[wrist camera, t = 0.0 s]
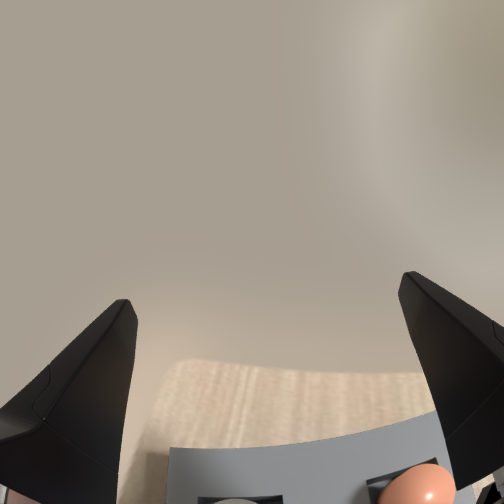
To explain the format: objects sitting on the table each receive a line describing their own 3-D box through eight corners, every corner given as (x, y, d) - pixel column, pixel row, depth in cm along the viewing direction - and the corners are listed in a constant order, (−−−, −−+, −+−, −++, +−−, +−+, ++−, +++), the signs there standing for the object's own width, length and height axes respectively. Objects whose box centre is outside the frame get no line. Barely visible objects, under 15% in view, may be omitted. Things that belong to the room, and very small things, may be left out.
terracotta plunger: (439, 517, 9) (461, 510, 8) (378, 540, 9) (395, 539, 8) (426, 467, 13) (445, 454, 11) (369, 486, 13) (382, 476, 11)
